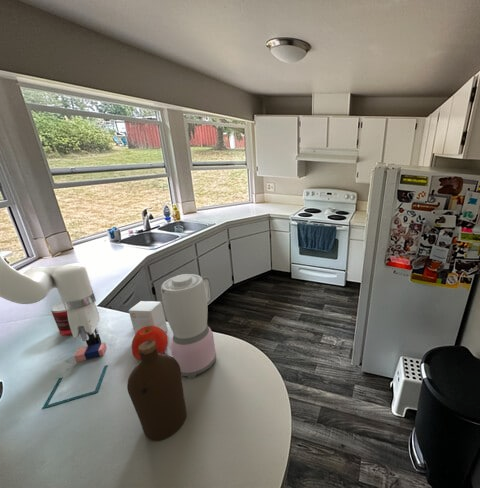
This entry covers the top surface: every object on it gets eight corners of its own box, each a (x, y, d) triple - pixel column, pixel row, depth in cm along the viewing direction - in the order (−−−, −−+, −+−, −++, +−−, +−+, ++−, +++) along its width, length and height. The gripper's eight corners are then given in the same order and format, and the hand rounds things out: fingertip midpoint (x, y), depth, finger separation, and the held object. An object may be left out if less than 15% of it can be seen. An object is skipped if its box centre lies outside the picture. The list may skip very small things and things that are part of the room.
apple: (172, 340, 93) (167, 317, 89) (165, 361, 84) (159, 335, 80) (140, 346, 90) (133, 321, 86) (129, 368, 80) (121, 342, 77)
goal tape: (42, 409, 67) (41, 408, 67) (59, 378, 76) (59, 378, 76) (97, 392, 72) (97, 391, 72) (107, 365, 81) (107, 365, 81)
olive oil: (194, 423, 65) (179, 346, 56) (146, 454, 58) (120, 372, 50) (182, 395, 72) (167, 324, 64) (138, 420, 65) (114, 343, 57)
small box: (168, 329, 98) (161, 301, 94) (157, 341, 92) (150, 311, 88) (147, 329, 98) (140, 300, 94) (135, 340, 92) (127, 310, 88)
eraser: (76, 362, 82) (73, 356, 81) (80, 354, 85) (78, 347, 84) (103, 355, 85) (101, 349, 84) (106, 347, 88) (105, 341, 87)
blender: (195, 384, 76) (177, 292, 65) (166, 371, 80) (145, 283, 69) (231, 349, 90) (222, 269, 79) (205, 340, 94) (193, 262, 83)
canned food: (84, 320, 102) (76, 297, 98) (90, 328, 97) (82, 304, 94) (58, 330, 96) (48, 305, 92) (63, 339, 91) (53, 313, 88)
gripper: (72, 292, 86) (88, 335, 92) (53, 316, 74) (73, 364, 80) (100, 287, 90) (113, 329, 96) (87, 310, 77) (102, 356, 83)
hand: (95, 345), depth 88 cm, fingers closed
